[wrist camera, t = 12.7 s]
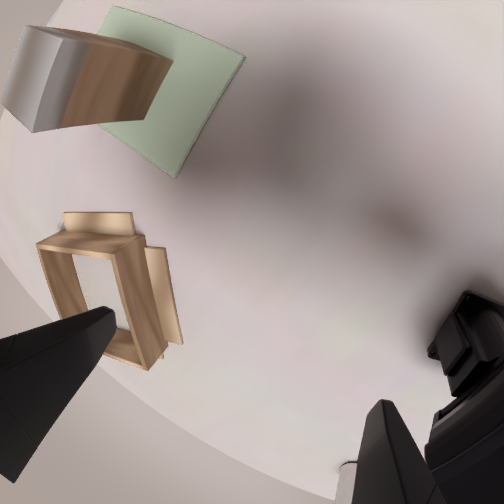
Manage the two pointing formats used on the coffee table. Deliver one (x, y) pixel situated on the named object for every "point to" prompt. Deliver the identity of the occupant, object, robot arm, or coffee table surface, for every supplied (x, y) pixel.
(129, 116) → the gray block
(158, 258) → the wooden square frame
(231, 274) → the coffee table surface
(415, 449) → the robot arm
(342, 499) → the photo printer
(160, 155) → the green mat
